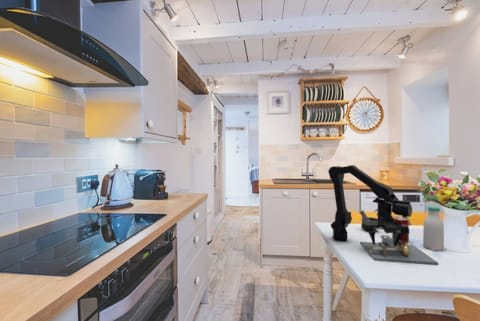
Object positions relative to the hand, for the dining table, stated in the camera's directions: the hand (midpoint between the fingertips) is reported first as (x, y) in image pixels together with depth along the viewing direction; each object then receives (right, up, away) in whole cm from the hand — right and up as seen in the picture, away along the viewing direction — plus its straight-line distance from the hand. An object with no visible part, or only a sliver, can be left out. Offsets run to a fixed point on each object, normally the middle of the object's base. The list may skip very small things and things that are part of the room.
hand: (384, 245), depth 111 cm
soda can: (+17, -3, +14) cm, 22 cm away
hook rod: (-2, -1, -6) cm, 7 cm away
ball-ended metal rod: (+6, -1, +2) cm, 6 cm away
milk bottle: (+26, -3, +4) cm, 26 cm away
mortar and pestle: (+10, -2, +31) cm, 33 cm away
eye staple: (-4, -3, -6) cm, 8 cm away
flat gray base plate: (+3, -3, -2) cm, 5 cm away
